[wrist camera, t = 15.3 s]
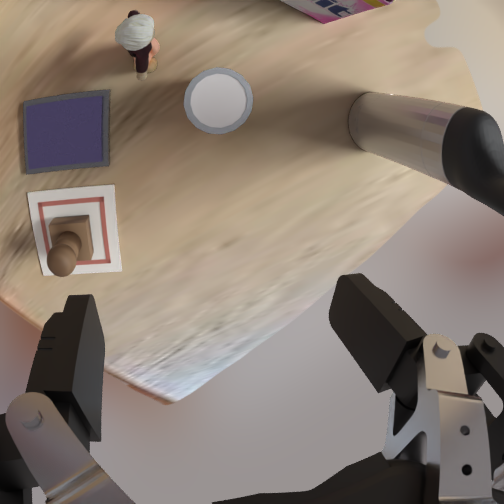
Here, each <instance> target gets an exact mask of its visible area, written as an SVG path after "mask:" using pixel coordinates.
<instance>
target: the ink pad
mask: <svg viewBox="0 0 504 504" xmlns="http://www.w3.org/2000/svg"><path fill="white" fill-rule="evenodd" d="M110 92H111V90H98V91H88V92H79V93H71V94H64V95H57V96H51V97H45V98H39V99H34V100H29V101H24V104H23V125H24V150H25V164H26V175H27V174H35V173H42V172H50V171H59V170H68V169H78V168H89V167H102V166H109V165H110V154H109V121H110Z"/></svg>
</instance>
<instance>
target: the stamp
mask: <svg viewBox="0 0 504 504" xmlns="http://www.w3.org/2000/svg"><path fill="white" fill-rule="evenodd" d="M48 227H49V232H50V238H51V243H52V248H51V249H50V250H49V252H48V254H47V266H48V268H49V270H50V271H51V272H52V273H53V274H54V275H56V276H59V277H65V276H68V275H69V274H71V273H72V272H73V271H74V269H75V267H76V263H77V261H87V260H91V259H92V256H93V253H94V248H93V241H92V234H91V226H90V217H89V215H79V216H66V217H55V218H53V219H52V221H51V222H50V224H49V225H48Z"/></svg>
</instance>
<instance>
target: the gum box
mask: <svg viewBox="0 0 504 504" xmlns="http://www.w3.org/2000/svg"><path fill="white" fill-rule="evenodd" d="M280 1H282V2H284V3H286V4H288V5H290V6H292V7H293V8H295V9H297V10H299V11H301V12H303V13H305V14H307V15H309V16H311V17H313V18H315V19H317V20H318V21H320V22H322V23H323V24H325V23H328V22H332V21H335V20H338V19H341V18H344V17H347V16H350V15H354V14H357V13H360V12H364V11H367V10H371V9H374V8H378V7H382V6H385V5H389V4H391V3H392V2H394V1H395V0H280Z"/></svg>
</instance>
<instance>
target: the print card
mask: <svg viewBox="0 0 504 504" xmlns="http://www.w3.org/2000/svg"><path fill="white" fill-rule="evenodd" d="M27 194H28V201H29V208H30V214H31V220H32V226H33V231H34V236H35V241H36V246H37V250H38V255H39V259H40V263H41V267H42V271H43V275H44V276H47V275H54V274H53V273H52V272H51V271H50V270H49V268H48V266H47V254H48V252H49V250H50V249H51V248H52V243H51V238H50V232H49V227H48V225H49V224H50V222H51V221H52V219H53V218H55V217H66V216H79V215H89V217H90V226H91V234H92V241H93V248H94V253H93V256H92V259H91V260H87V261H77V263H76V267H75V269H74V271H73V272H72V273H71V274H83V273H101V272H118V271H122V265H121V257H120V248H119V239H118V228H117V216H116V203H115V185H114V184H108V185H95V186H82V187H71V188H61V189H51V190H42V191H34V192H28V193H27Z"/></svg>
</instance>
